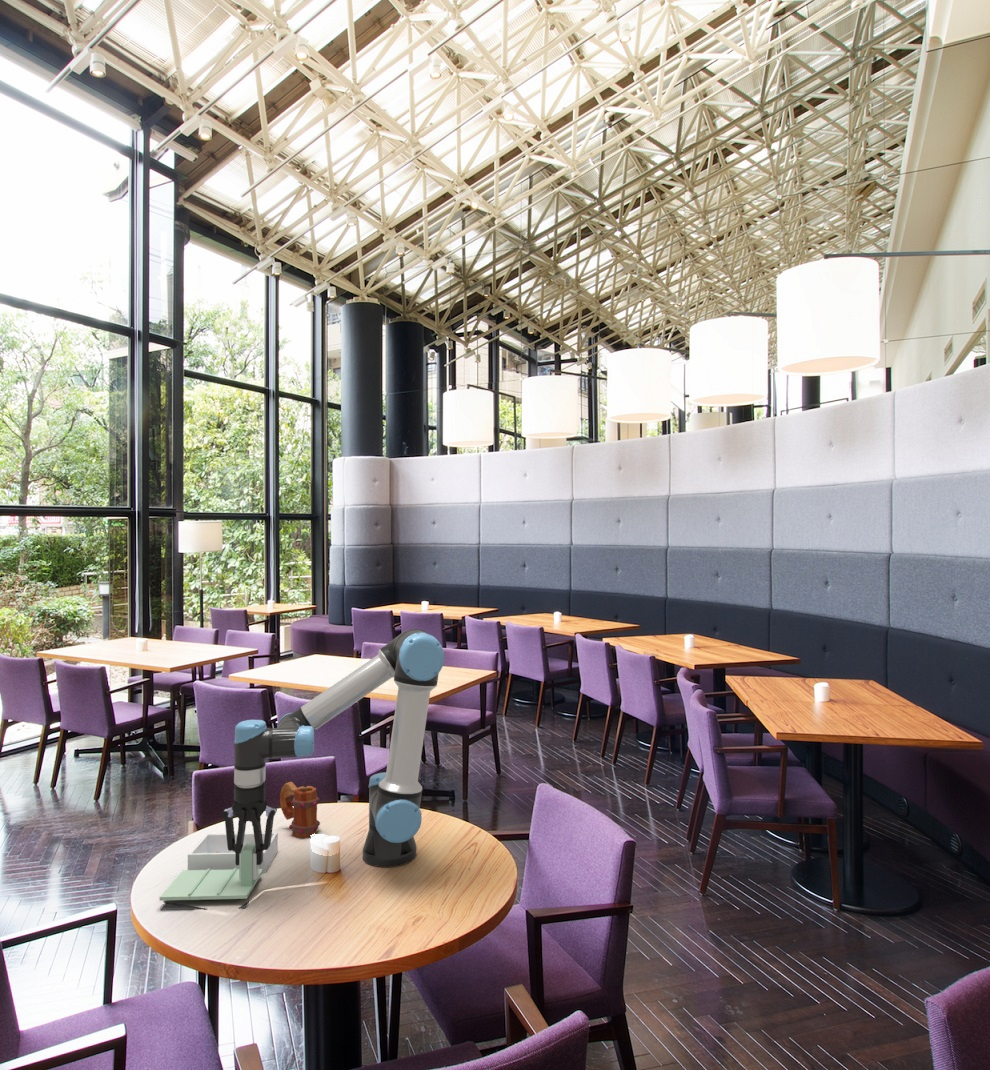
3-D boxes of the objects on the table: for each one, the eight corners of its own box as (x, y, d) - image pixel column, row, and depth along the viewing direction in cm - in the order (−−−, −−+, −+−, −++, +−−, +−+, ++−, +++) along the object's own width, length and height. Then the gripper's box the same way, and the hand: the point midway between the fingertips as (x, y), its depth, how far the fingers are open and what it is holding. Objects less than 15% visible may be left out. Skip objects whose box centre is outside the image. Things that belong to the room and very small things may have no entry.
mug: (326, 835, 222) (326, 785, 222) (305, 844, 215) (306, 792, 215) (292, 825, 230) (292, 777, 230) (271, 833, 223) (272, 784, 223)
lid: (262, 871, 191) (263, 834, 192) (246, 898, 177) (247, 858, 177) (182, 873, 190) (182, 836, 191) (159, 900, 176) (160, 860, 176)
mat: (261, 880, 192) (261, 878, 192) (245, 908, 177) (245, 906, 177) (184, 881, 191) (184, 880, 191) (160, 910, 176) (160, 908, 176)
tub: (277, 853, 208) (277, 832, 208) (264, 875, 194) (264, 853, 194) (205, 855, 207) (206, 833, 207) (187, 877, 193) (187, 854, 193)
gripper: (284, 778, 189) (284, 870, 188) (223, 779, 188) (222, 871, 187) (277, 787, 181) (276, 883, 181) (213, 788, 180) (212, 884, 180)
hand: (249, 877), depth 184 cm, fingers closed on lid, 3 cm apart
